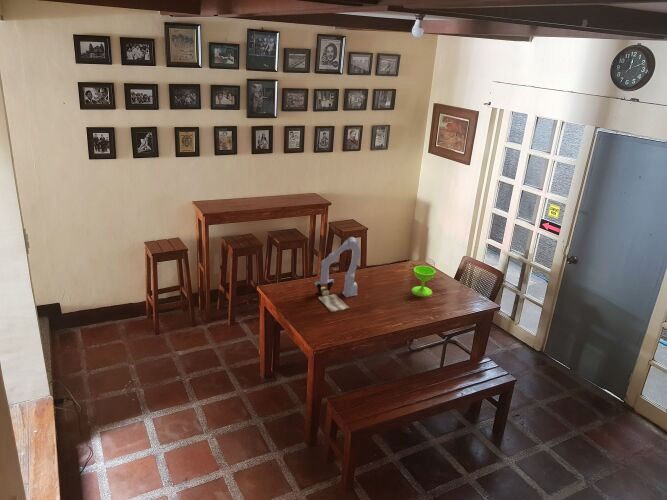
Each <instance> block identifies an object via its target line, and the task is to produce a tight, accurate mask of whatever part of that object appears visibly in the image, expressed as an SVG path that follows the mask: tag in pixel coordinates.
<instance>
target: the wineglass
mask: <svg viewBox="0 0 667 500" xmlns="http://www.w3.org/2000/svg"><path fill="white" fill-rule="evenodd" d="M413 272H414V275H415V277H416V279H418V280H419V281H421V285H420V286H414V287H412V288H411V290H410V291H411V293H412V294H413V295H415V296H418V297H424V298H425V297H430V296H432V295H433V290H432V289H430V288H429V287H427V286H425V282H427V281H430V280H432V279H433V278H434V276H435V274H436V270H435V269H434V268H433V267H431V266H427V265H417V266H415V267H414V268H413Z"/></svg>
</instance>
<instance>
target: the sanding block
mask: <svg viewBox="0 0 667 500" xmlns="http://www.w3.org/2000/svg"><path fill="white" fill-rule="evenodd" d="M319 294H320V295H321V297H322V296H327V295H330V291H329V290H327V287H326V286H322V287H321V293H319Z"/></svg>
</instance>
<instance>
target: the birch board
mask: <svg viewBox="0 0 667 500" xmlns="http://www.w3.org/2000/svg"><path fill="white" fill-rule="evenodd" d="M317 299H318V300H319V302H321V304H322V305H324V306H325V308H326V309H327V310H328V311H330V313H335V312H339V311H344V310H349V309H350V307H349V305H347V304H346V303H345V302H344V301H343V300H342V299H341V298H340V297H339V296H338V295H337V294H336V293H333V294H329V295H327V296H322V295H321V296H318V297H317Z"/></svg>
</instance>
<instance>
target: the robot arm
mask: <svg viewBox="0 0 667 500" xmlns="http://www.w3.org/2000/svg"><path fill="white" fill-rule="evenodd" d="M347 250H348V251H349V250H351V251H352V256H351V261H350V265H349V266H348V267H349V268H348V270H347V272H346V273H345V275H344V279H345V281H344V284H343V285H344V286H343V291H342V292H341V294H342V295H343V296H344V297H345V298H350V297H354V296H358V284H357V282H356V281H355V274H356V270H357V267H358V263H359V259H360V256H361V253H362V250H361V247H360V245H359V242H358V240H357V238H355V237H354V236H349V237H348V238H347V239H346V240H344V242H343V243H342V244H341V245H340V246H339V247H338V248H337V249H336V251H334V252H331V253H329V254H328V256H327V257H325V258H324V259H322V260H321V262H320V265H321V269H320V280H317V281H315V282H314V285H315V286H316V288H317V291H318V293H319V294H320V293H321V287H323V286H322V285H323V284H324V285H327V286H326V289H327V290H329V292H330V291H331V288H332V287H333V284H334V283H335V279H333V278H331V279H329V278H330V277H329V275H330V272H329V271H330V267H331V265H332V264H333V263H334V262H335V261H336V260H338V256H339V255H340V254H342V253H344V251H347Z"/></svg>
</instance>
